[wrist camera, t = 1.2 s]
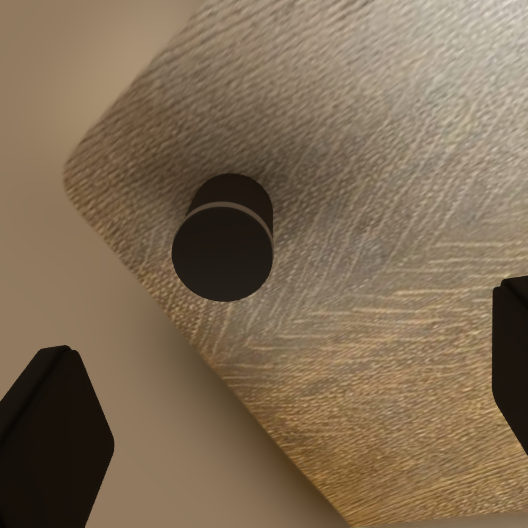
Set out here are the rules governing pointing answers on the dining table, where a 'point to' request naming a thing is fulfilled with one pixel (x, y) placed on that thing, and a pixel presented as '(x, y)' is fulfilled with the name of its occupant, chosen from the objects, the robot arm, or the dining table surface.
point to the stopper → (225, 239)
